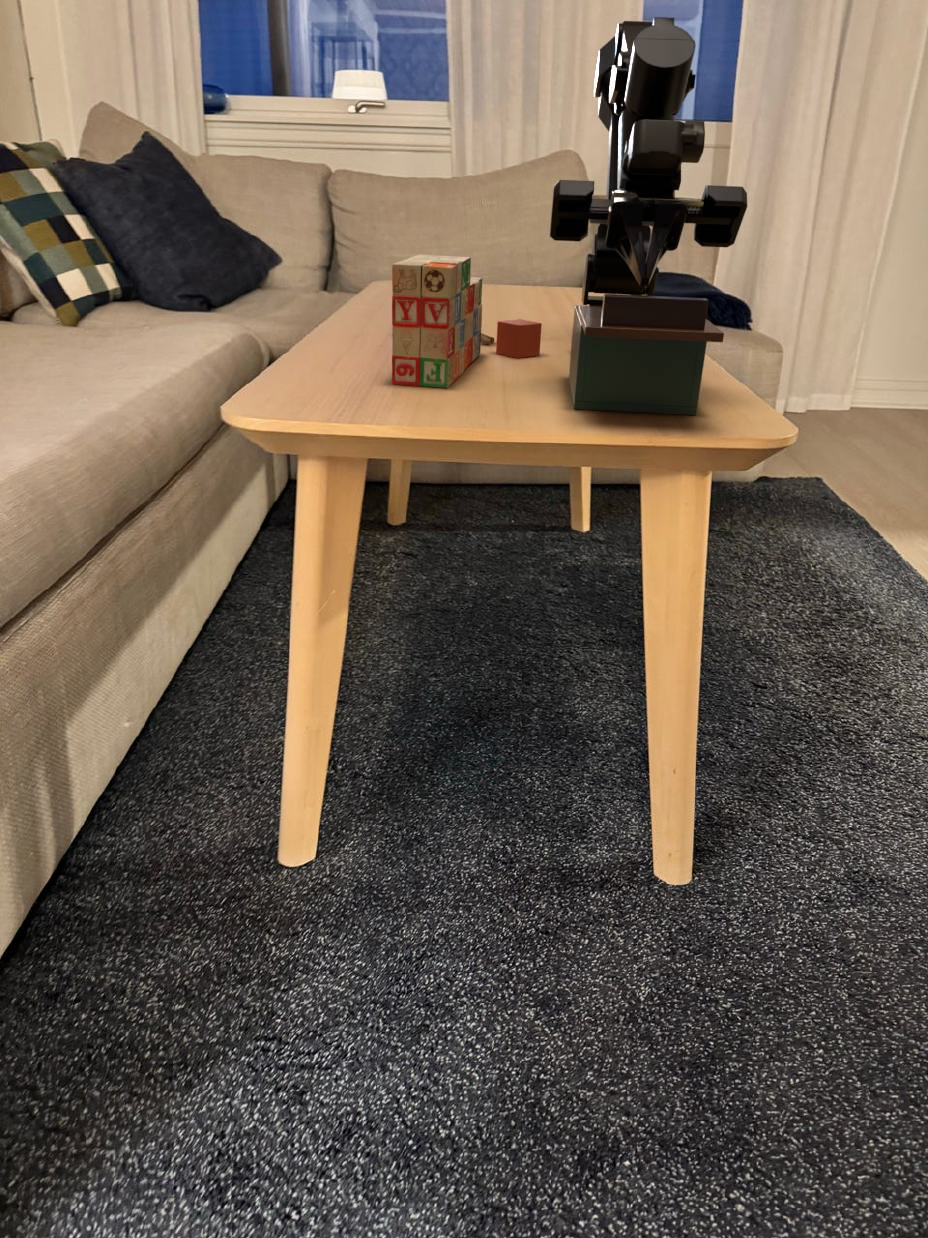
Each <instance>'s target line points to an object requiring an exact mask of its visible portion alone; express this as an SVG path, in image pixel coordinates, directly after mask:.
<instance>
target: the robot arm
mask: <svg viewBox="0 0 928 1238" xmlns="http://www.w3.org/2000/svg"><path fill="white" fill-rule="evenodd" d="M695 51H696V41H695V40H694V38H693V37H692V35H691V34H690V33H689V32H688V31H687V30H685V29H683V27H682V28H681V27H679V26H677V25H675V17H667V16H666V17H664V16H663V17H662V16H654V17H653V20H652V21H640V20H624V21H623V22H620V23H619V22H618V23H617V27H616V32H615V35H614V36H613V37H612V38H611V39H610V40H609V41H607V42H606V44H604V45H603V46H602V47H600V49H599V50H598V56H597V61H596V62H597V63H596V69H595V76H594V85H593V86H594V89H593V98H598V103H597V105H598V107H597V112H598V113H597V117H598V119H599V120H600V121H601V123H602V124H603V126H604V128H605V129H606V130H607V131H608V150H607V152H608V153H607V168H606V169H607V171H606V172H607V174H606V191H605V192H606V193H605V194H606V195H605V198H593V196H594V193H595V180H578V179H577V180H576V179H559V180H558V181H557V182H556V183H555V184H554V185H553V191H552V202H551V212H550V213H551V214H550V226H549V238H551V239H552V240H553V241H557V242H559V241H560V242H581V241H582V240H584V239H586V238H587V237H588V235H589V225H590V224H596V225H597V224H598V227H597V231H596V233H595V235H594V238H593V243H592V250H591V253H587V254H586V259H585V266H584V273H583V280H582V285H581V287H582V289H581V303H582V306H599V307H603V297H604V294H619V295H642V296H655V292H656V287H657V282H658V279H659V274H660V269H659V267H658V265H659V263H660V261H661V260H662V259H663V257H664V256H665V255H666V253H667V252H673V251H675V250H677V249H678V247H679V244H680V241H681V236H682V233H683V229H684V227H685V224H694V230H693V240H694V242H696V243H697V244H698V245H699V246H701V247H703V248H729V247H731V246H733V245H735V242H736V239H737V237H738V234H739V231H740V228H741V226H742V223H743V220H744V218H745V215H746V211H747V208H748V192H747V191H746V190H745V188H744V186H736V185H711V184H710V185H708V184H706V185H705V187H704V189H703V192H702V196H701V198H693V197H692V198H689V197H688V198H687V197H676V191H679V190H680V187H681V183H682V164H683V163H686V164H687V163H688V164H699V162H700V161H701V158H702V155H703V153H704V151H705V150H704V149H705V140H706V128H705V127H706V126H705V121H704V120H685V121H684V122H683V121H682V120H676V117H675V116H677V115H678V113H679V112H680V110H681V109H682V106H683V103H684V101H685V100H686V97H688V94H689V93H690V92H691V91H693V90H694V89H695V85H696V77H697V74H694V73H693V69H692V64H693V61H694V55H695ZM651 227H652V228H651ZM589 293H593V294H603V295H601V296H600V295H590V294H589Z"/></svg>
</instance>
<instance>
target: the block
mask: <svg viewBox="0 0 928 1238" xmlns="http://www.w3.org/2000/svg"><path fill="white" fill-rule="evenodd" d="M496 324H497V325H496V343H495V344H496V347H495V349H496V350H495V354H497V355H502V356H505V357H510V358H515V359H523V358H531V357H539V356H540V355H541V353H540V352H541V339H542V325H543V324H542V322H537V321H531V320H527V319H521V318H519V319H517V318H516V319H509V320H508V319H507V320H506V319H505V320H497V323H496Z"/></svg>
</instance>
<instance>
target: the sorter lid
mask: <svg viewBox="0 0 928 1238" xmlns="http://www.w3.org/2000/svg"><path fill="white" fill-rule="evenodd" d="M603 296H604V297H603V307H599V306H589V305H577V306H578V316H579V319H580V322H581V325H582V328H583V331H584V334H585V336H596V337H617V338H639V339H661V340H683V341H704V342H707V343H723V342H724V336H725V333H724V332H723V331H722V330H721V329H720V328H719V327H717V326H716V325H715V324H714V323H712V322H711V321H710V320H708V319H707V315H708V308H709V299H708V298H705V297H688V296H687V297H684V296H661V295H654V296H642V295H625V294H603Z"/></svg>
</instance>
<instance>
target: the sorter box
mask: <svg viewBox="0 0 928 1238" xmlns="http://www.w3.org/2000/svg"><path fill="white" fill-rule="evenodd" d="M578 306H579V305H574V309H573V323H572V335H571V347H570V358H569V371H568V372H569V373H568V383H569V389H570V395H571V400H572V407H573V410H582V411H584V410H585V411H586V410H587V411H604V412H622V413H623V412H625V413H643V414H645V413H646V414H663V415H685V416H696V415H697V412H698V404H699V399H700V392H701V385H702V379H703V370H704V366H705V365H704V364H705V358H706V351H707V343H708V342H704V341H683V340H661V339H639V338H617V337H596V336H585V334H584V331H583V328H582V325H581V322H580V319H579V316H578Z"/></svg>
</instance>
